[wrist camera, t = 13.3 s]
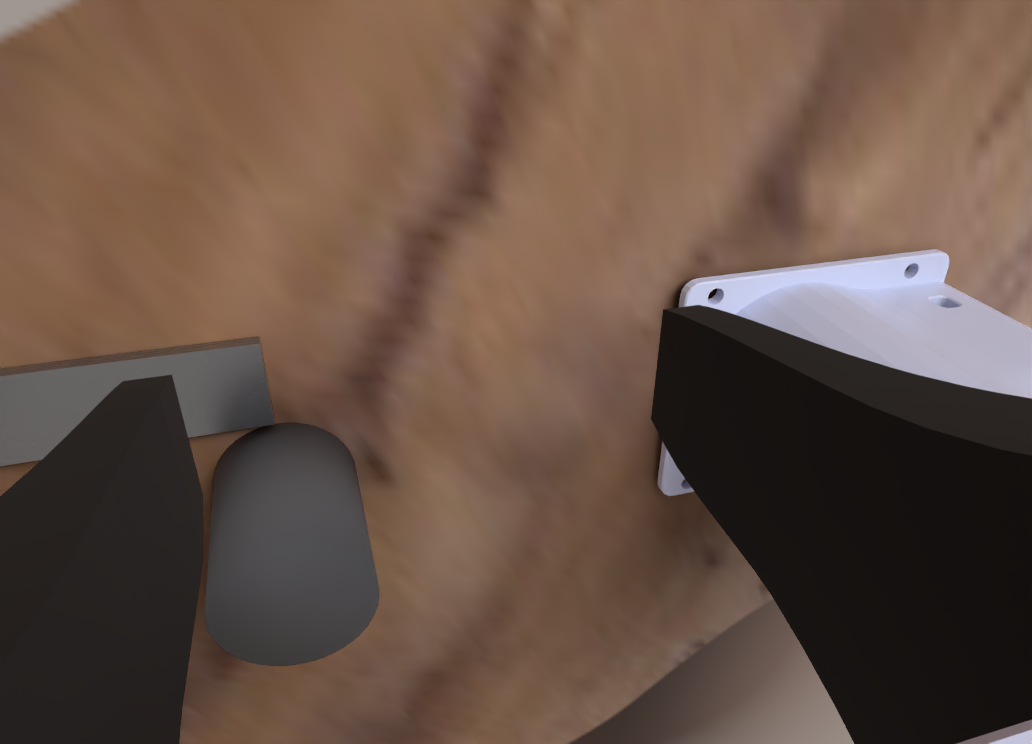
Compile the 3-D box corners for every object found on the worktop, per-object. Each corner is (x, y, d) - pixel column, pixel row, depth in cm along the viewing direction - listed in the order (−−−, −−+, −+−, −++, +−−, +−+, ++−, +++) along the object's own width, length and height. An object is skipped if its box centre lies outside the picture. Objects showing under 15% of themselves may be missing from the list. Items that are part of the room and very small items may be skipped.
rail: (259, 336, 20) (259, 343, 20) (274, 416, 21) (274, 424, 21) (-250, 399, 17) (-260, 409, 17) (-199, 487, 19) (-206, 497, 18)
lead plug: (350, 413, 22) (373, 526, 18) (361, 521, 24) (384, 645, 20) (201, 433, 21) (189, 559, 17) (225, 544, 23) (220, 681, 19)
